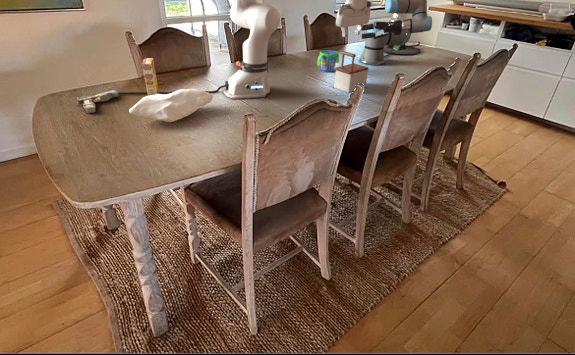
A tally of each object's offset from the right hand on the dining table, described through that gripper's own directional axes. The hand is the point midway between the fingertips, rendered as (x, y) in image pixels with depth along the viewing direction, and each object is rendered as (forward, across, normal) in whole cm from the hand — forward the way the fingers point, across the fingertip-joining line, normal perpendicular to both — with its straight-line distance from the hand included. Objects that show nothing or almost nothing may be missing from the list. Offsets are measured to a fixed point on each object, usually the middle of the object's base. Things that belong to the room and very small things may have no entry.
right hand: (361, 32), depth 202 cm
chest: (+7, -19, -33) cm, 39 cm away
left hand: (+5, -34, -12) cm, 37 cm away
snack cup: (+20, +3, -18) cm, 27 cm away
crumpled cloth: (+77, -73, -48) cm, 116 cm away
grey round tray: (-23, +66, +7) cm, 70 cm away
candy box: (+94, -59, -36) cm, 117 cm away
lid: (+5, -24, -26) cm, 35 cm away
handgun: (+110, -74, -41) cm, 139 cm away
